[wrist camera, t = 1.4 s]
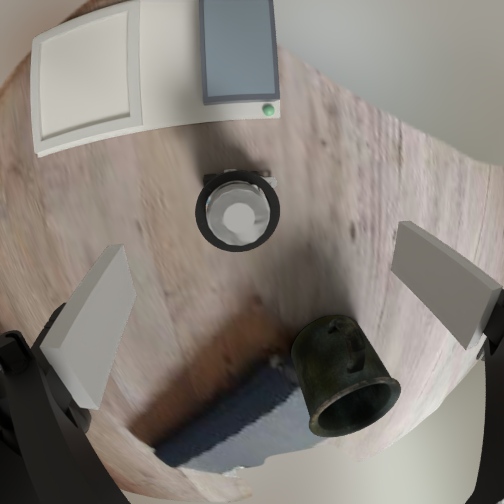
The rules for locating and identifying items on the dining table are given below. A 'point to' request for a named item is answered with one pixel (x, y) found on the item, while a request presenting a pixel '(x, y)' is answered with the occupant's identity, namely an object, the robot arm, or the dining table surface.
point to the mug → (341, 377)
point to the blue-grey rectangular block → (238, 51)
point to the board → (123, 76)
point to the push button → (237, 210)
